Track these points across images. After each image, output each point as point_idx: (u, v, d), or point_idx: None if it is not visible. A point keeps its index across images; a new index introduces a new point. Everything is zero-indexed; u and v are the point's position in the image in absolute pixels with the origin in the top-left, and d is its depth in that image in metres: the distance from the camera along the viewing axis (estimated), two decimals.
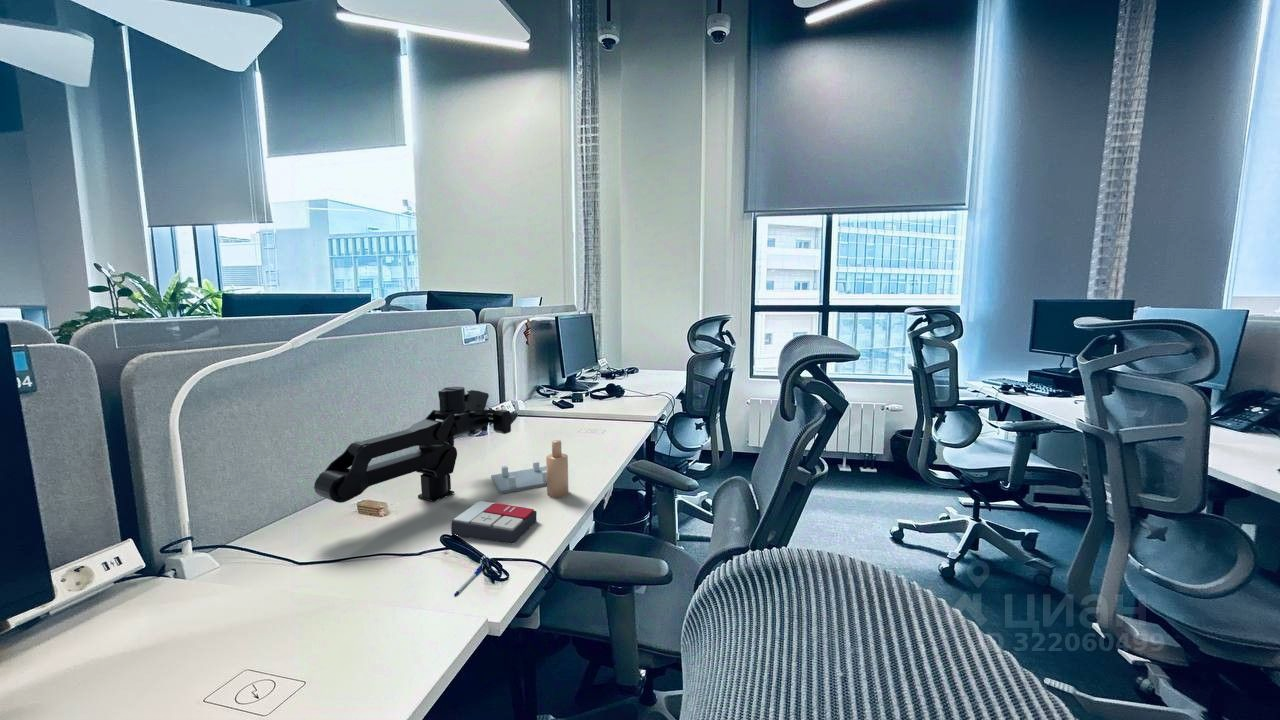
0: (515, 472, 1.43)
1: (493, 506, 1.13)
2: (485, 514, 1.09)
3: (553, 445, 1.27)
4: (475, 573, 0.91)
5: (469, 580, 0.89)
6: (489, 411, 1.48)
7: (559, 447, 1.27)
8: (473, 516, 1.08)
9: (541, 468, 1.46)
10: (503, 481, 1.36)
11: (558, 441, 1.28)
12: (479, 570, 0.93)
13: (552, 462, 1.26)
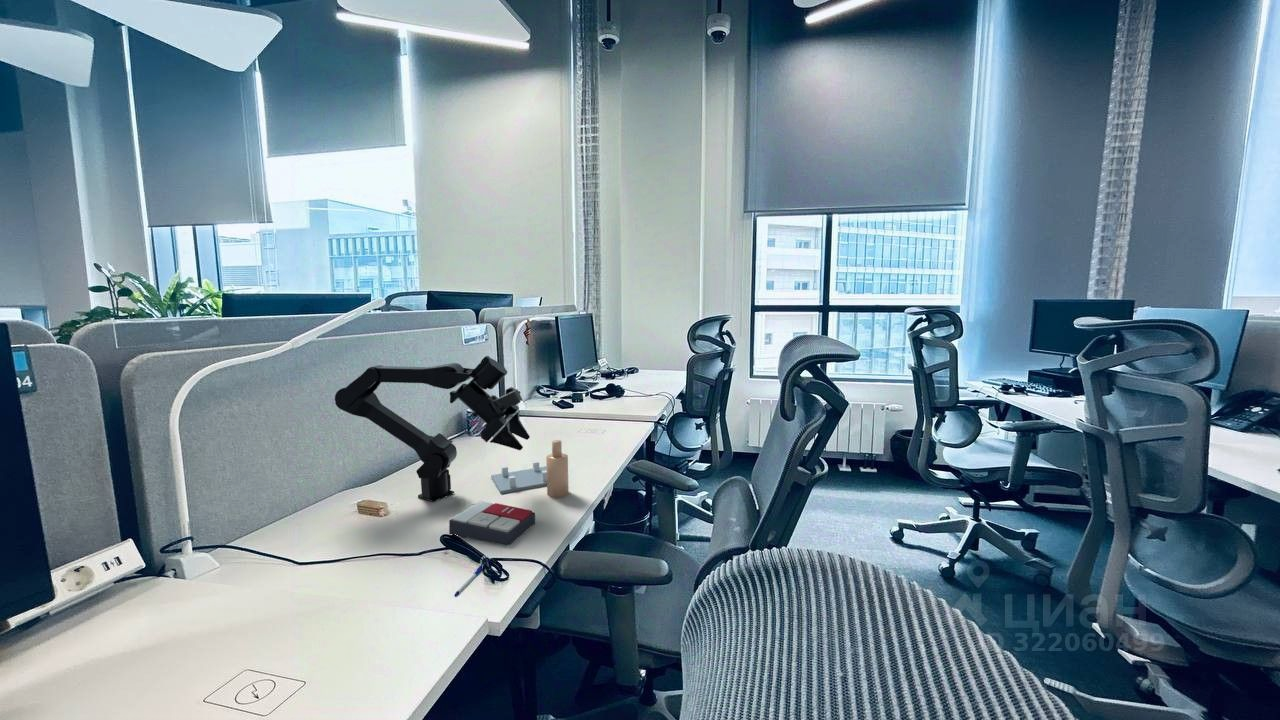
0: (515, 472, 1.43)
1: (492, 506, 1.13)
2: (483, 514, 1.09)
3: (553, 445, 1.27)
4: (475, 573, 0.91)
5: (469, 580, 0.89)
6: (523, 432, 1.32)
7: (559, 447, 1.27)
8: (471, 516, 1.08)
9: (541, 468, 1.46)
10: (503, 481, 1.36)
11: (558, 441, 1.28)
12: (479, 570, 0.93)
13: (552, 462, 1.26)
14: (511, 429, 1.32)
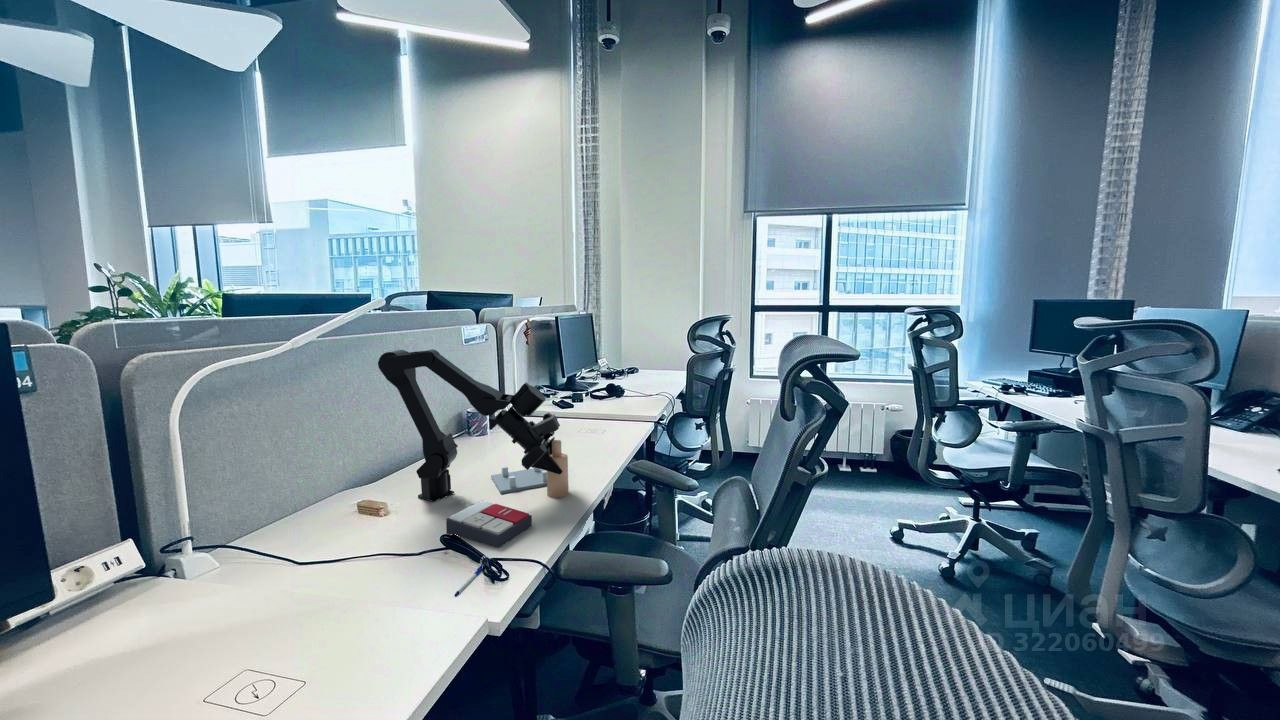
0: (515, 472, 1.43)
1: (491, 507, 1.13)
2: (480, 515, 1.09)
3: (553, 445, 1.27)
4: (475, 573, 0.91)
5: (469, 580, 0.89)
6: None
7: (559, 447, 1.27)
8: (468, 516, 1.09)
9: None
10: (503, 481, 1.36)
11: (558, 441, 1.28)
12: (479, 570, 0.93)
13: None
14: None
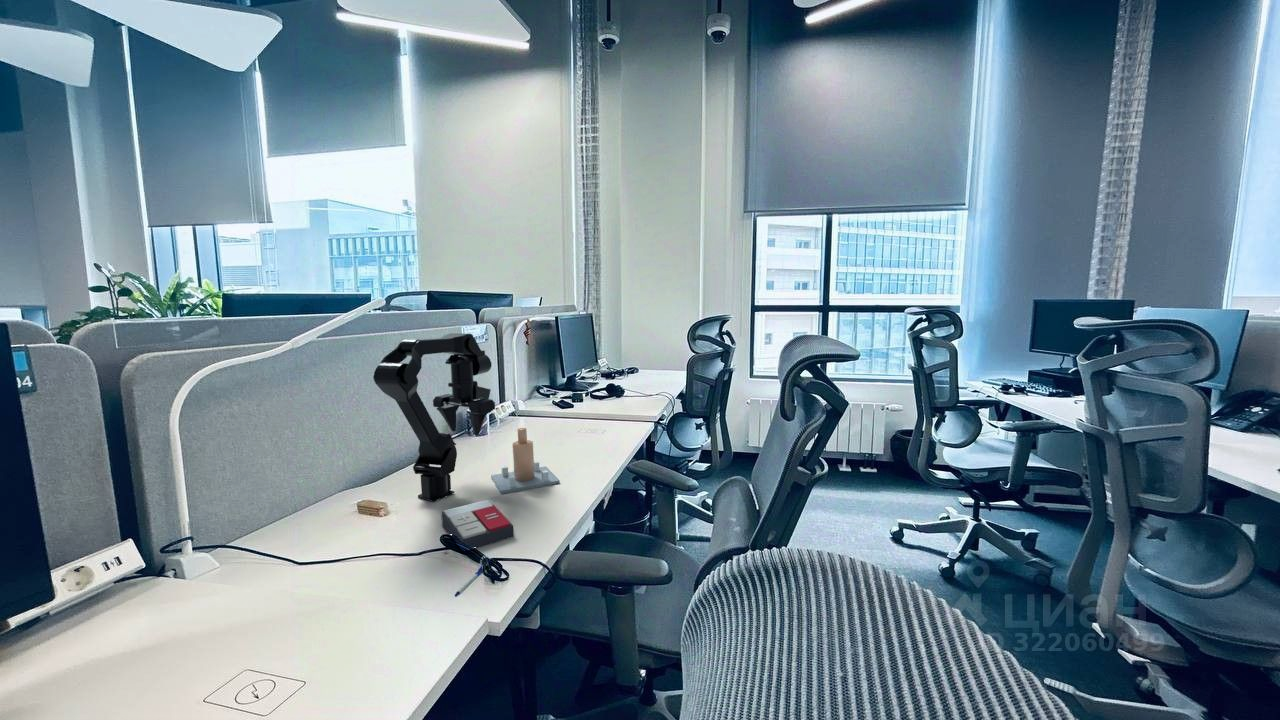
0: None
1: (486, 508, 1.12)
2: (468, 514, 1.09)
3: (520, 432, 1.36)
4: (476, 573, 0.91)
5: (470, 580, 0.89)
6: (454, 423, 1.42)
7: (525, 433, 1.37)
8: (459, 513, 1.10)
9: (541, 468, 1.46)
10: (503, 481, 1.36)
11: (523, 428, 1.37)
12: (480, 570, 0.92)
13: (521, 448, 1.35)
14: (448, 415, 1.40)
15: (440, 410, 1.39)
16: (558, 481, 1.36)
